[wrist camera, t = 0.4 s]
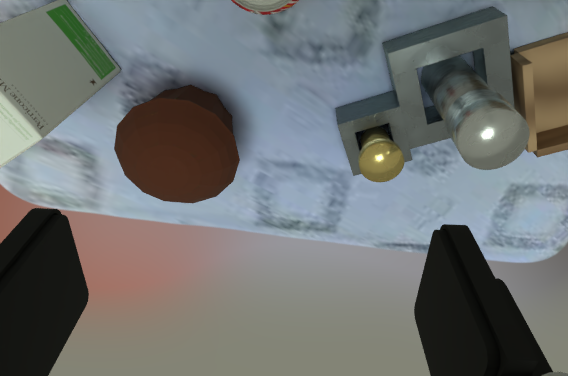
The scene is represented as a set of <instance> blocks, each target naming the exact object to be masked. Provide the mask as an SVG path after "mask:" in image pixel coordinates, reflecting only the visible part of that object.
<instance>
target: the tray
mask: <svg viewBox="0 0 568 376" xmlns="http://www.w3.org/2000/svg"><path fill="white" fill-rule="evenodd" d="M510 59H511V72H512V84H513V97H514V109H515V110H516V111H517V112H518V113H519V114H520V115H521V116H522V117H523V118H524V119H525V120H526V122H527V124H528V126H529V131H530V134H529V140H528V143H527V146H526V148H525V149H526V150H527V152H528V153H529V152H533V153H534V154H535V155H536V156H537V157H540V156H544V155H548V154H552V153H556V152H560V151H564V150H568V32H567V33H564V34H560V35H557V36H554V37H551V38H547V39H544V40H541V41H538V42H534V43H531V44H528V45H525V46H521V47H518V48H515V49H514V54H513V55H510Z"/></svg>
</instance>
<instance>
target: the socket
mask: <svg viewBox="0 0 568 376" xmlns="http://www.w3.org/2000/svg"><path fill="white" fill-rule="evenodd" d="M382 44H383V48H384V53H385V57H386V61H387V66H388V70H389V74H390V79H391V83H392V88H393V91H390V92H387V93H384V94H380V95H377V96H374V97H371V98H367V99H364V100H361V101H357V102H354V103H351V104H348V105H344V106H341V107H338V108H335V110H336V117H337V124H338V128H339V131H340V134H341V137H342V141H343V144H344V147H345V150H346V153H347V157H348V160H349V163H350V166H351V169H352V173H353V176H355V175H358V174H362V173H361V171H360V168H359V163H358V156H359V153H360V151H361V149H362V146H361V143H359V142H358V139H357V135H356V132H359V131H362V130H366V129H369V128H373V127H376V126H380V125H383V124H387V123H388V127H389V131H390V135H389V137H390V140H392V141H394V142H395V143H396V144H397V145H398V146H399V147H400V149H401V151H402V154H403V157H404V162H407V161H411V160H412V156H411V152H410V149H412V148H416V147H419V146H423V145H427V144H430V143H434V142H437V141H441V140H445V139H448V138H451V137H450V136H449V134H448V132H447V130H446V125H445V122H444V121H443V119H442V117H441V116H440V114H439V112H438V111H437V109H436V107H435V106H432V107H428V108H425V109H424V106H423V101H422V95H421V90H420V85H419V80H418V75H417V70H416V68H420V67H423V66H426V65H429V64H432V63H436V62H439V61H442V60H445V59H448V58H452V57H455V56H458V55H461V54H465V53H468V52H471V51H473V56H474V64H475V72H476V73H477V74H478V75H479V76H480V77H481V78H482V79H483V80H484V81H485V83H486V84H487V85H488V86H489V87H490V88H491V89H492V90H493V91H496V92H498V93H499V94H501V95H502V96H503V97H504V98H505V99H506V100H507V101H508V102H509V103H510V105H511V106H512V107H513V108H514V97H513V84H512V72H511V59H510V47H509V35H508V22H507V15H505V14H504V13H502V12H501V11H499V10H497V9H496V8H494V7H489V8H486V9H483V10H480V11H477V12H474V13H471V14H468V15H465V16H462V17H459V18H456V19H453V20H450V21H447V22H444V23H441V24H438V25H435V26H432V27H429V28H425V29H422V30H419V31H416V32H413V33H410V34H407V35H404V36H401V37H398V38H395V39H392V40H389V41H386V42H383V43H382Z"/></svg>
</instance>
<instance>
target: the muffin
mask: <svg viewBox="0 0 568 376" xmlns="http://www.w3.org/2000/svg"><path fill="white" fill-rule="evenodd" d="M114 149H115V152H116V154H117V157H118V159H119V162H120V164H121V167H122V169H123V171H124V174H125V176H126V177H127V178H129V179H130V180H131V181H132V182H133V183H134V184H135V185H136V186H137V187H138V188H139V189H140V190H141V191H143V192H144V193H146V194H149V195H151V196H153V197H156V198H158V199H160V200H163V201H170V202H182V203H196V202H199V201H202V200H206V199H209V198H213V197H216V196H217V195H218V194H220V193H221V192H222V191H223V190H224V189H225V188H226V187H227V186H228V185H229V184H231V183H232V182H233V180H234V177H235V173H236V170H237V167H238V164H239V161H240V159H239V155H238V151H237V147H236V142H235V138H234V135H233V126H232V115H231V114H230V113H229V112H228V111H227V110H226V108H225V107H224V106H223V104H222V103H221V101H220V99H219V98H218V96H217V95H216V94H213V93H209V92H206V91H203V90H201V89H199V88H197V87H195V86H193V85H188V86H185V87H182V88H179V89H171V90H165V91H164V92H162V93H161V94H159V95H158V96H156V97H155V98H153V99H152V100H150V101H149V102H146V103H143V104H141V105H138V106H135V107H133V108H132V109H131V110H130V111H129V113H128V114H127V115H126V116H125V117H124V118H123V120H122V121H121V122H120V123H119V124H118V125H117V132H116V140H115V147H114Z"/></svg>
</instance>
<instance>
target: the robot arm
mask: <svg viewBox="0 0 568 376" xmlns="http://www.w3.org/2000/svg"><path fill="white" fill-rule="evenodd" d="M88 295H89V293H88V288H87V285H86V281H85V277H84V274H83V271H82V267H81V263H80V260H79V256H78V252H77V249H76V245H75V242H74V238H73V235H72V231H71V228H70V224H69V221H68V218H67V217H66V216H65V215H62V214H61V212H60V211H59V210H57V209H41V208H35V209H32V210H31V211H30V212H28V214H27V215H26V216H25V217H24V218H23V219H22V220H21V221H20V223H19V224H18V225H17V226H16V227H15V228H14V229H13V230H12V231H11V233H10V234H9V235H8V236H7V237H6V238H5V239H4V240H3V241H2V243H1V244H0V376H48V375H49V373H50V371H51V369H52V367H53V366H54V364H55V362H56V360H57V358H58V356H59V354H60V353H61V351H62V349H63V347H64V345H65V344H66V342H67V340H68V338H69V336H70V334H71V332H72V330H73V329H74V327H75V325H76V323H77V321H78V319H79V318H80V316H81V314H82V312H83V310H84V309H85V307H86V305H87V302H88ZM414 313H415V320H416V324H417V327H418V331H419V335H420V338H421V342H422V345H423V349H424V353H425V356H426V360H427V364H428V367H429V371H430V375H431V376H568V374H567V373H563V372H553V371H552V369H551V367H550V366H549V364H548V362H547V360H546V358H545V356H544V354H543V352H542V351H541V349H540V347H539V345H538V343H537V342H536V340H535V338H534V336H533V334H532V332H531V330H530V328H529V327H528V325H527V323H526V321H525V319H524V317H523V316H522V314H521V312H520V310H519V308H518V306H517V305H516V303H515V301H514V299H513V297H512V295H511V293H510V292H509V290H508V288H507V286H506V285H505V283H504V282H503V281H502V280H500V279H495V277H494V275H493V273H492V271H491V269H490V268H489V265H488V264H487V262H486V260H485V258H484V256H483V254H482V252H481V250H480V248H479V246H478V244H477V243H476V241H475V239H474V237H473V235H472V233H471V231H470V229H469V228H468V226H466V225H446V224H444V225H442V227H441V228H440V230H434V232H433V234H432V238H431V242H430V246H429V250H428V254H427V259H426V262H425V266H424V270H423V274H422V278H421V282H420V286H419V290H418V295H417V299H416V302H415V309H414Z"/></svg>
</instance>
